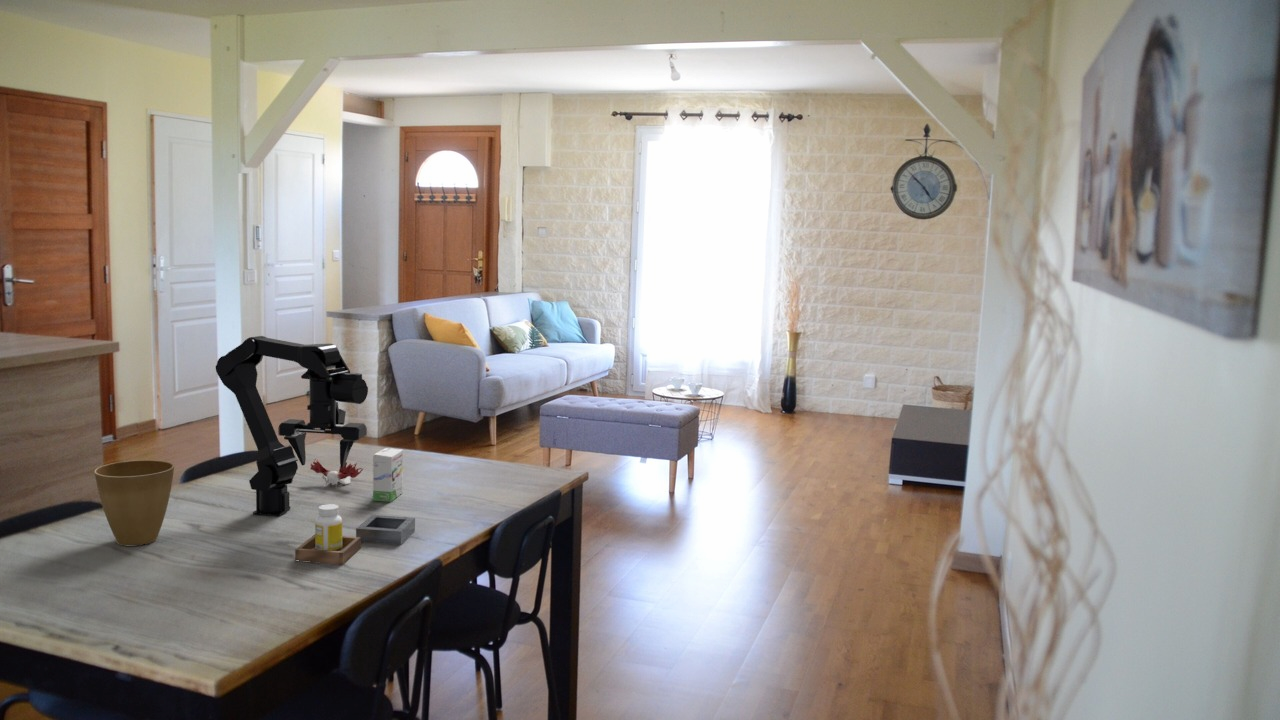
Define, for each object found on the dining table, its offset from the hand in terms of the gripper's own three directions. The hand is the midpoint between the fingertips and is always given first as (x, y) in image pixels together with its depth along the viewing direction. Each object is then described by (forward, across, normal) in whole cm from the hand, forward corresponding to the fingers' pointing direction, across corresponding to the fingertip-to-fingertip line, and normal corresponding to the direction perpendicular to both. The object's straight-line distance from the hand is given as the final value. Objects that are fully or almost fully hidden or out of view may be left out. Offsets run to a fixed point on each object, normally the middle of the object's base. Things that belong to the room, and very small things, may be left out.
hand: (322, 466), depth 222 cm
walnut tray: (+13, -10, +22) cm, 27 cm away
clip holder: (+13, -18, +8) cm, 23 cm away
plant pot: (+13, +32, +21) cm, 41 cm away
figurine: (+13, +8, -30) cm, 34 cm away
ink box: (+13, -8, -22) cm, 27 cm away
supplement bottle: (+13, -10, +21) cm, 27 cm away
